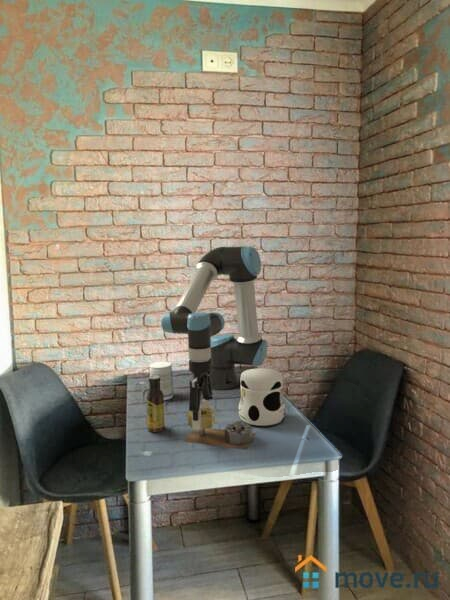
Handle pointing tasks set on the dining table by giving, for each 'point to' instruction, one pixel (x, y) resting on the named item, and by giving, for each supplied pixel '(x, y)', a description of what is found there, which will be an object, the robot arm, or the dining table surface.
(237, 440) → the steel gear
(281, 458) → the dining table surface
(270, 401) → the milk container
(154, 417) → the sauce bottle
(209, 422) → the brass gear
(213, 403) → the dining table surface
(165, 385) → the supplement tub
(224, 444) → the gear board
